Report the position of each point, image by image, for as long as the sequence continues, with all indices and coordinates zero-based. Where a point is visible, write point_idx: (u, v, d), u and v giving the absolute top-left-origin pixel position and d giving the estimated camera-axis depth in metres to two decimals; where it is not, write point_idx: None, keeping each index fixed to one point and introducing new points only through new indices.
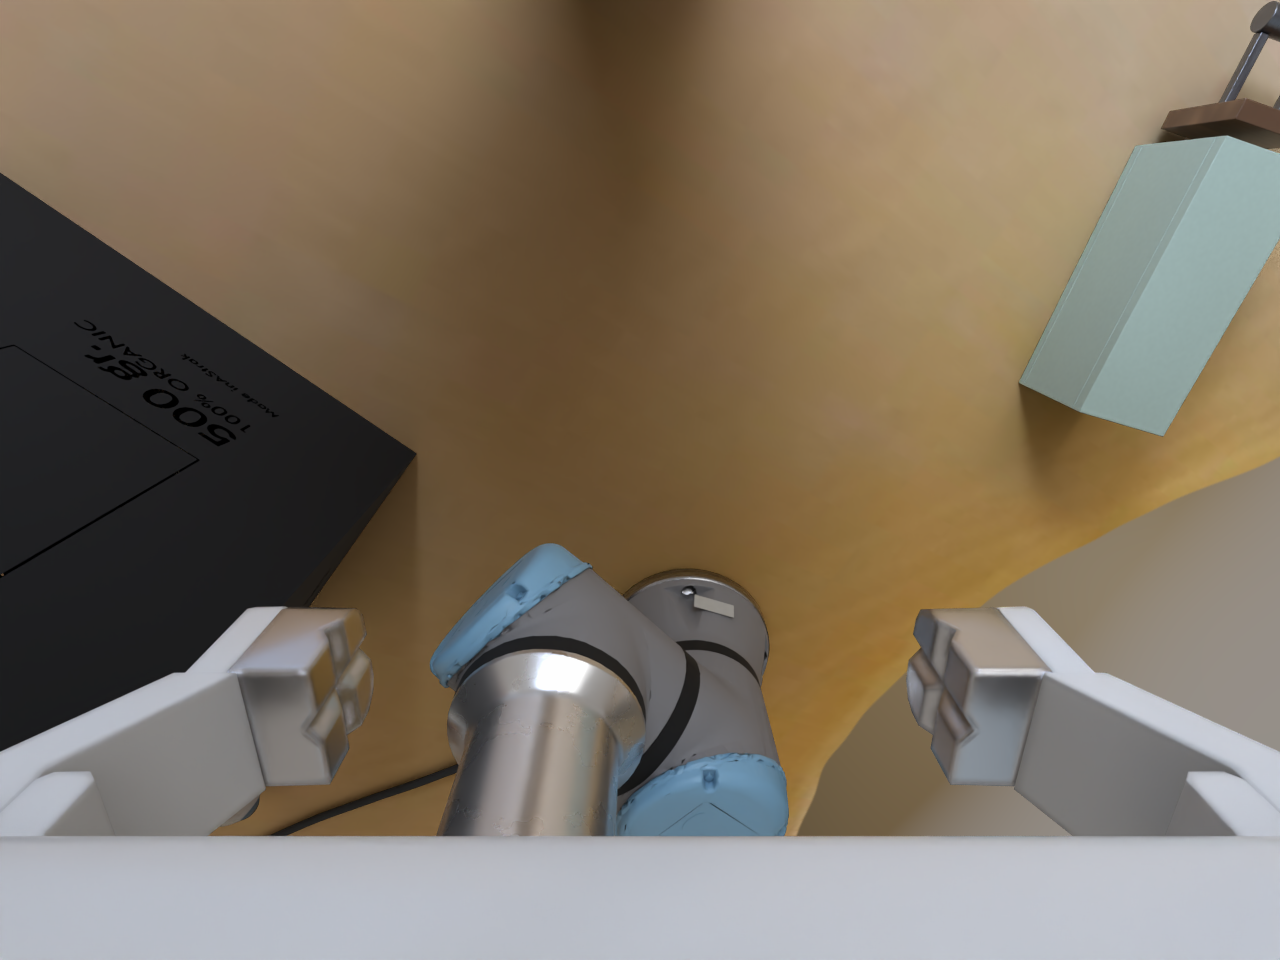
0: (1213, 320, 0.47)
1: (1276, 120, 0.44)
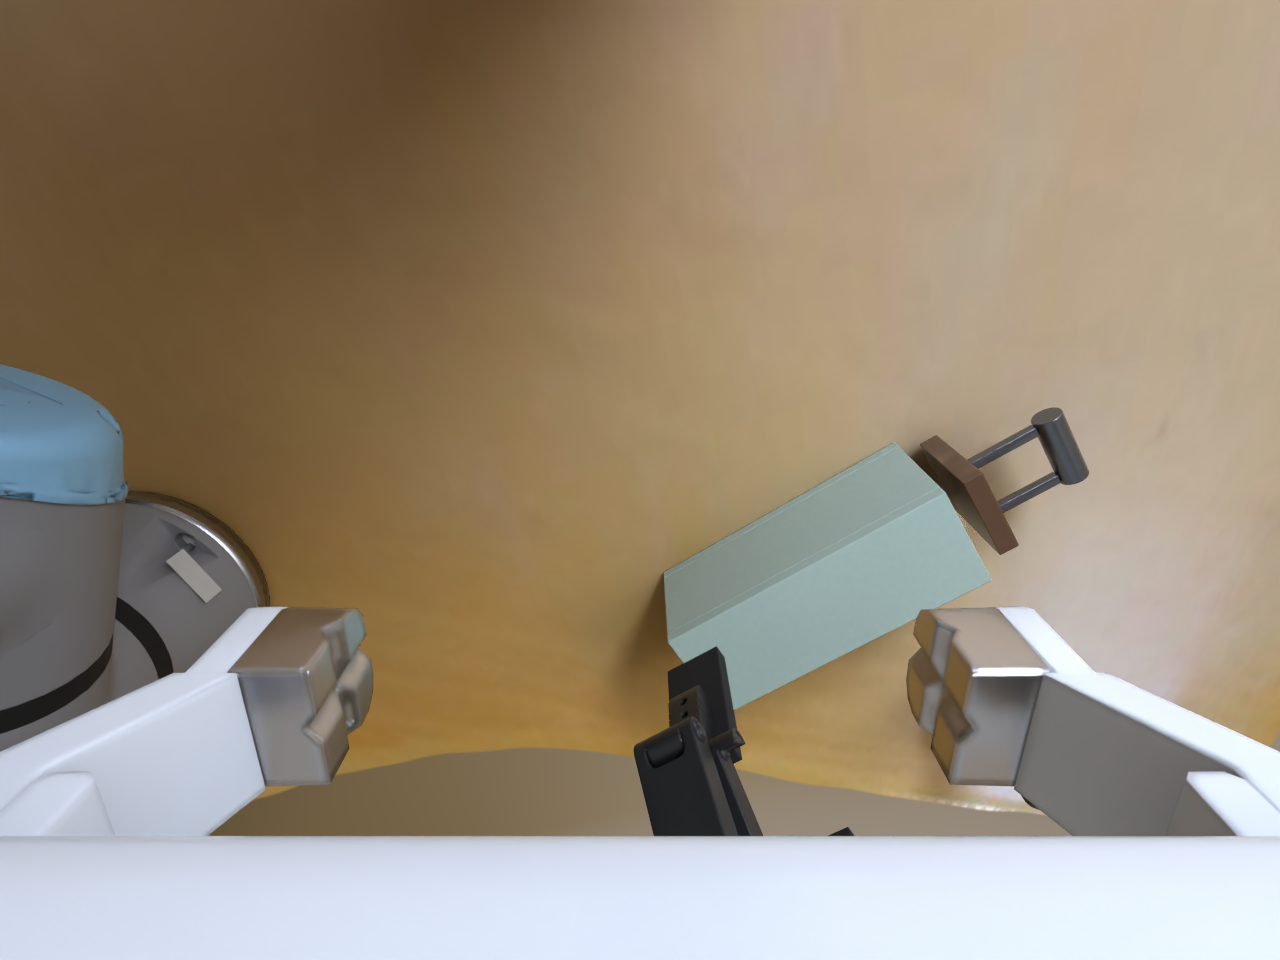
0: (829, 644, 0.43)
1: (990, 511, 0.41)
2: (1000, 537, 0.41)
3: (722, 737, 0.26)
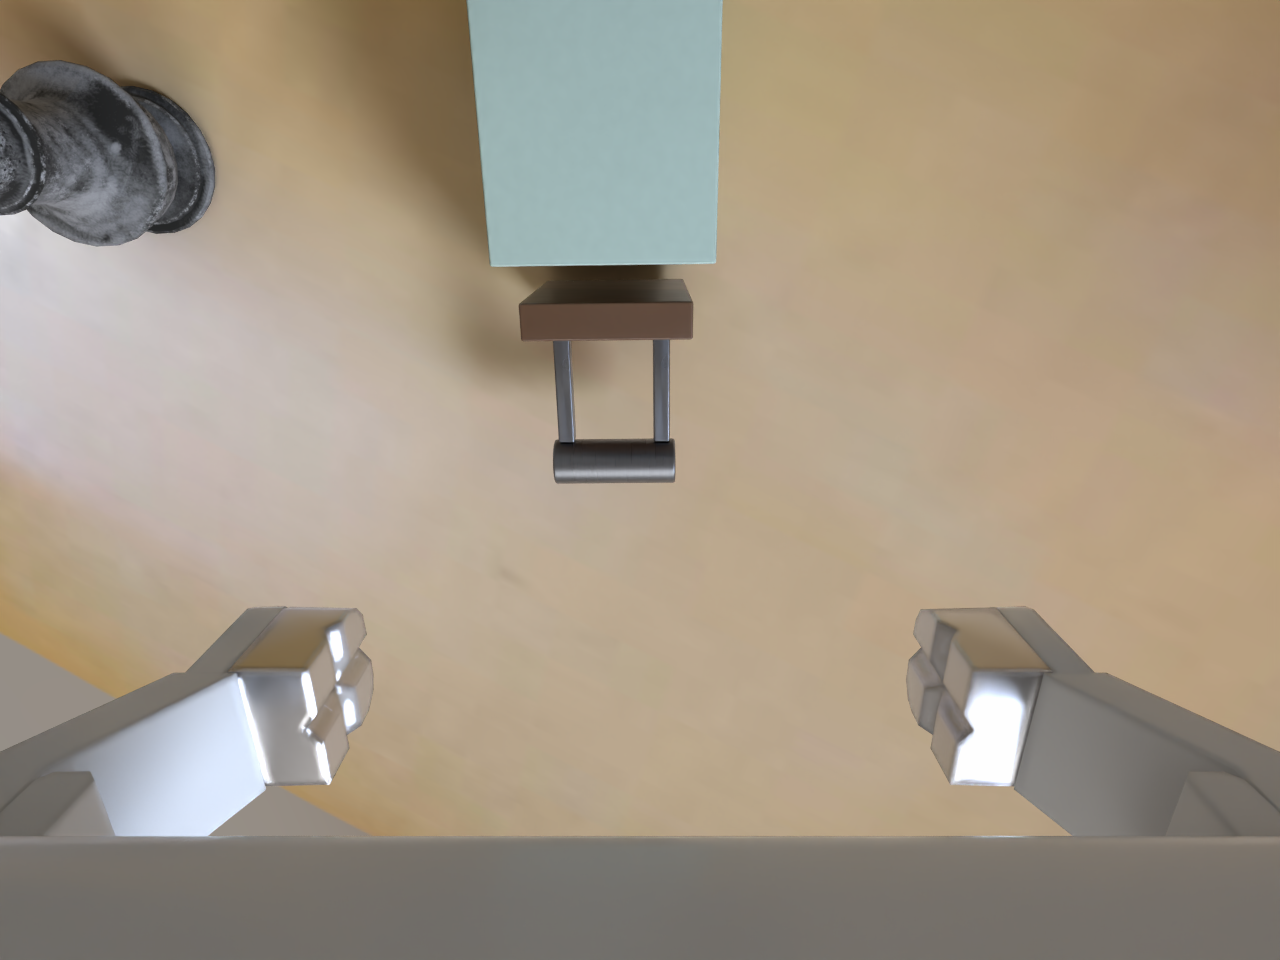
0: None
1: (613, 322, 0.22)
2: (554, 318, 0.22)
3: None
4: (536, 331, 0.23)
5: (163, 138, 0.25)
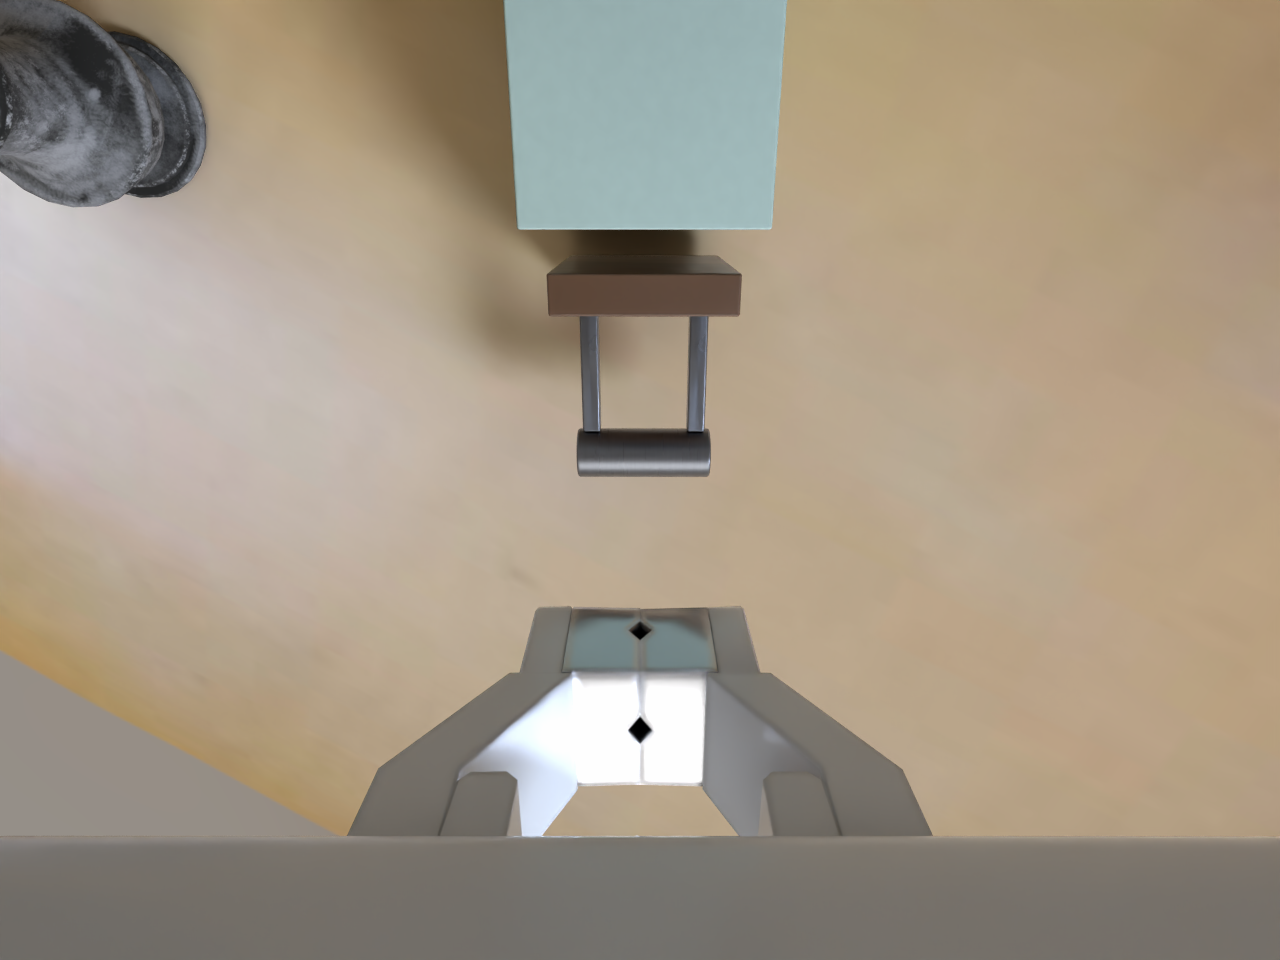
0: None
1: (652, 296, 0.20)
2: (586, 290, 0.20)
3: None
4: (565, 305, 0.20)
5: (148, 87, 0.22)
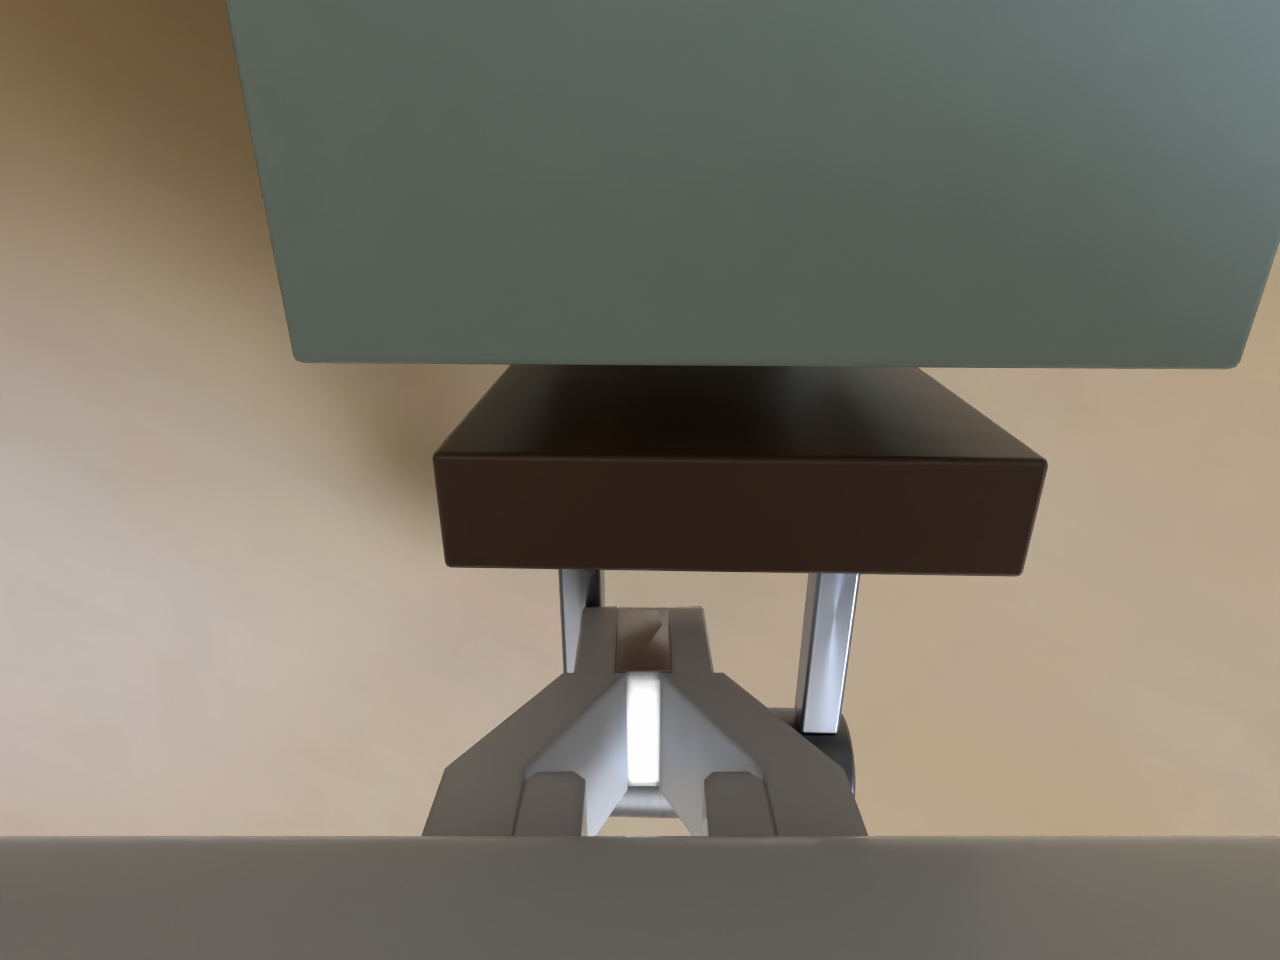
0: None
1: (759, 520, 0.06)
2: (556, 502, 0.06)
3: None
4: (494, 541, 0.07)
5: None
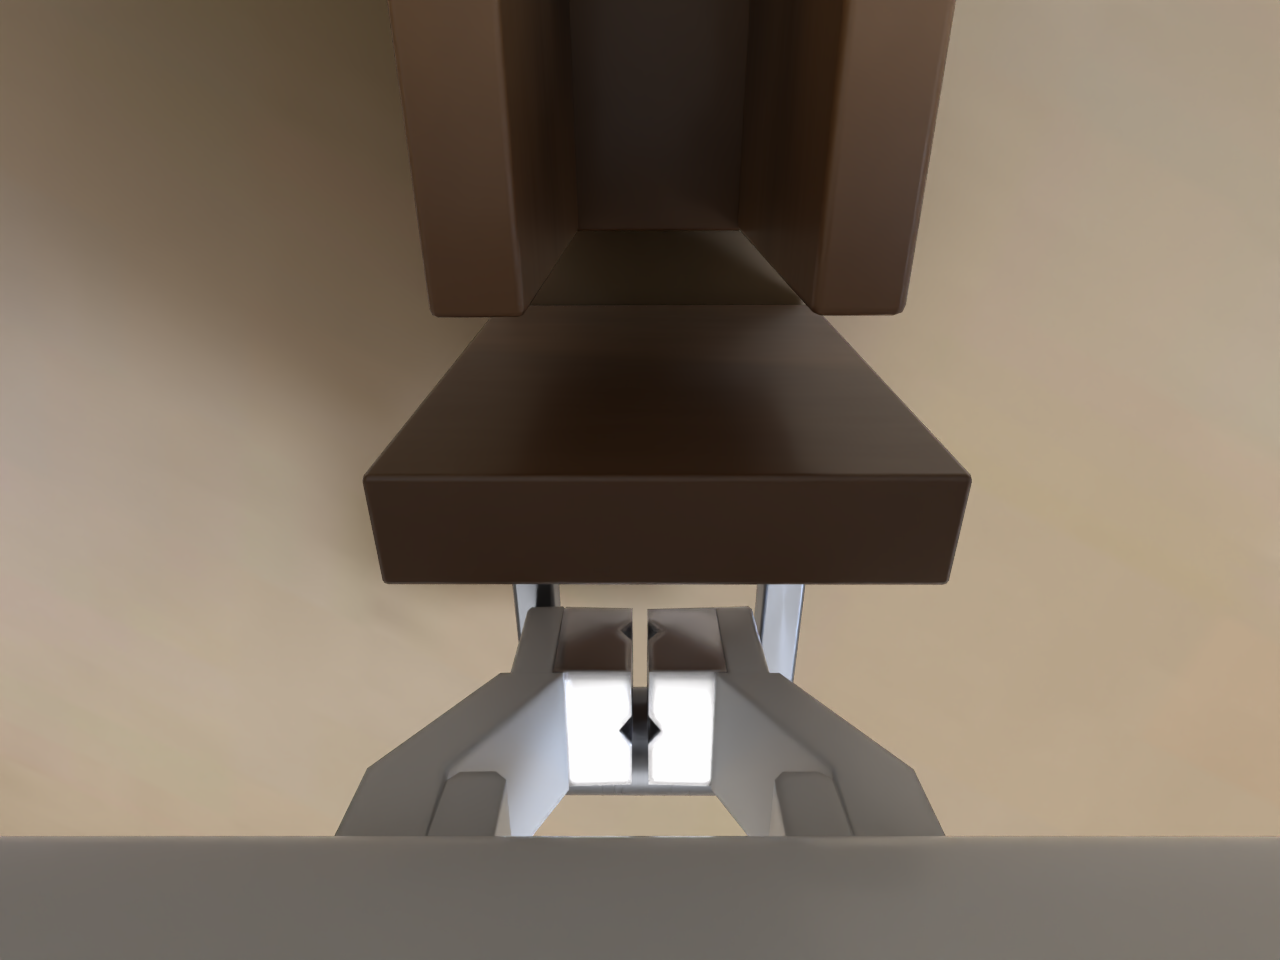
0: None
1: (690, 536, 0.07)
2: (488, 521, 0.07)
3: None
4: (429, 559, 0.07)
5: None
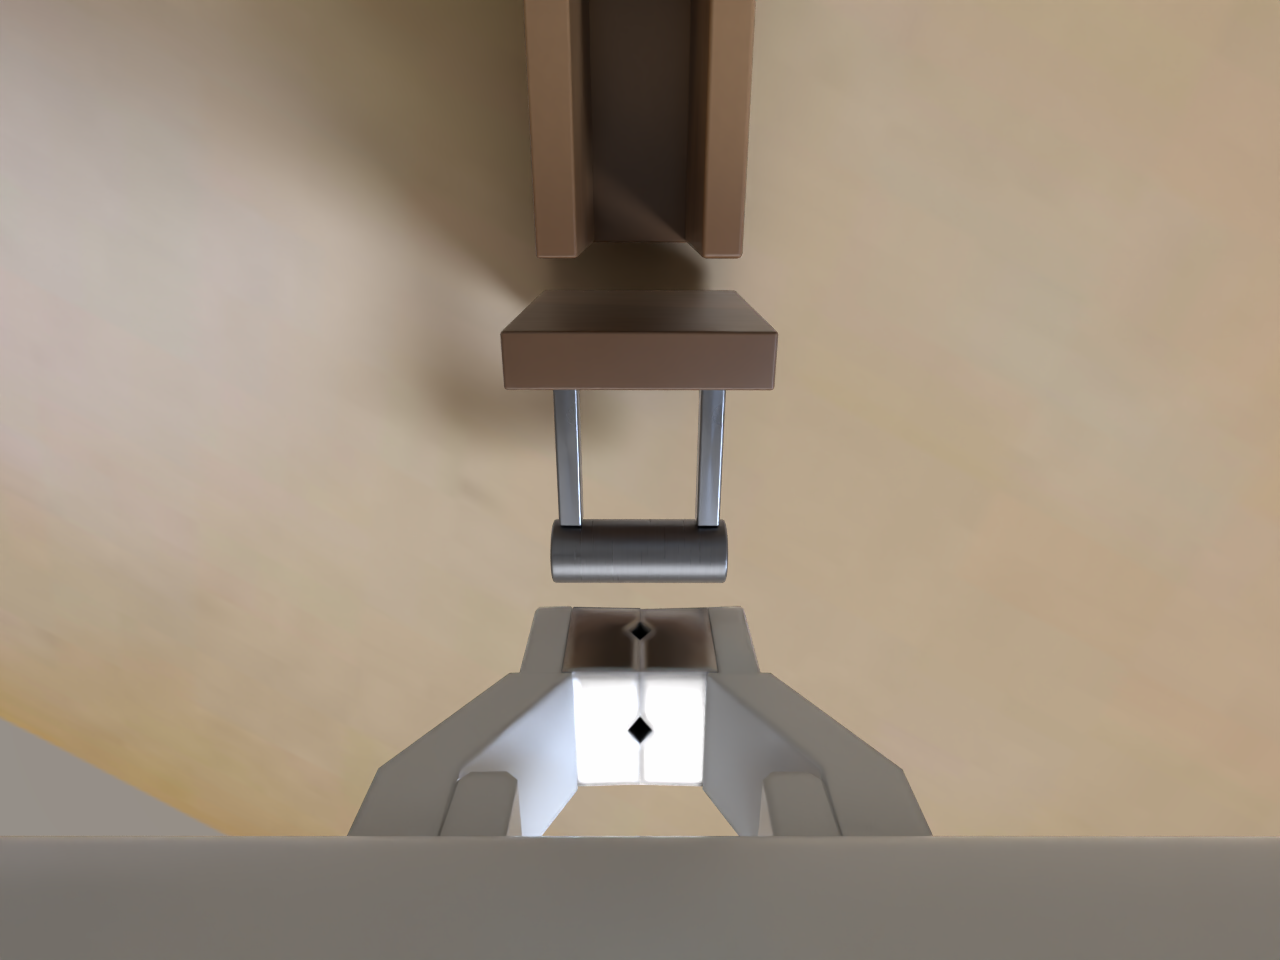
0: None
1: (650, 362, 0.14)
2: (557, 354, 0.14)
3: None
4: (528, 375, 0.14)
5: None
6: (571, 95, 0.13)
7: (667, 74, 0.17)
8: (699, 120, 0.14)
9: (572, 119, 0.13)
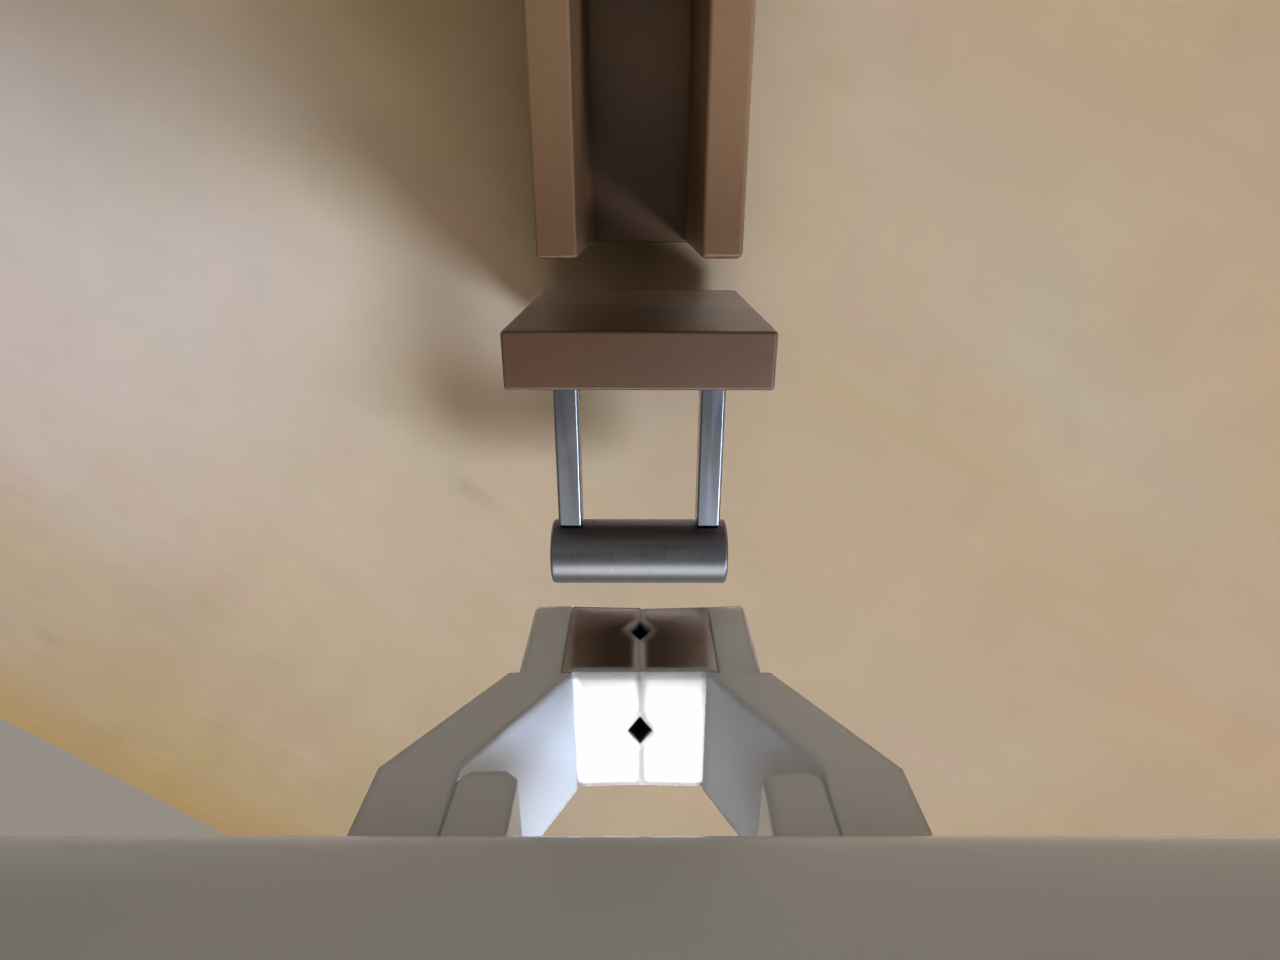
0: None
1: (650, 362, 0.14)
2: (557, 354, 0.14)
3: None
4: (528, 375, 0.14)
5: None
6: (571, 95, 0.13)
7: (667, 74, 0.17)
8: (699, 120, 0.14)
9: (572, 119, 0.13)
